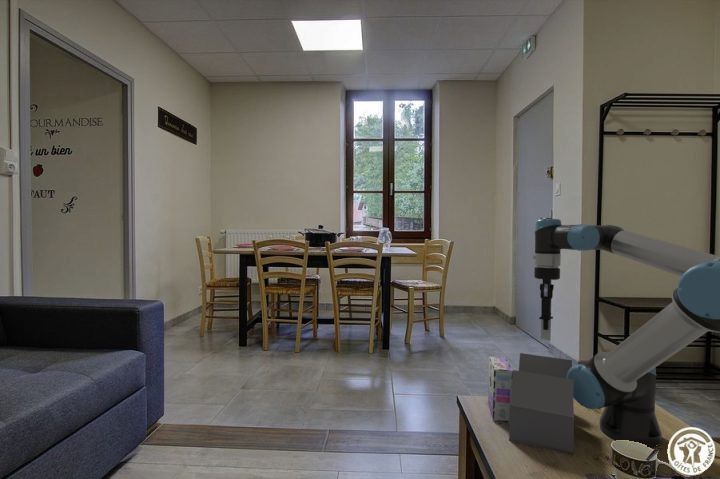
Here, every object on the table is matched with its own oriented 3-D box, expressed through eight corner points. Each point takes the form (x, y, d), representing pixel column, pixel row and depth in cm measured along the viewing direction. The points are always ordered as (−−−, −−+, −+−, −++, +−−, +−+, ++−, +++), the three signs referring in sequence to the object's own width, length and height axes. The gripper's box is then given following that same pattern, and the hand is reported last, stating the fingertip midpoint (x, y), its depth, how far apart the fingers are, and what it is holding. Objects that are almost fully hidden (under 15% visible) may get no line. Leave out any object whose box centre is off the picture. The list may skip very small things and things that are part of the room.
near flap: (573, 380, 109) (573, 379, 109) (573, 418, 105) (573, 417, 105) (513, 370, 117) (512, 369, 116) (510, 405, 112) (510, 405, 112)
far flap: (571, 391, 123) (571, 391, 124) (572, 360, 128) (572, 360, 128) (517, 382, 130) (517, 382, 131) (520, 353, 135) (520, 353, 135)
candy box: (512, 423, 123) (513, 370, 122) (492, 421, 124) (493, 369, 124) (505, 404, 136) (506, 356, 136) (487, 402, 137) (488, 355, 137)
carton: (571, 423, 123) (572, 391, 123) (573, 455, 105) (574, 418, 105) (516, 412, 131) (517, 381, 130) (509, 440, 113) (509, 405, 113)
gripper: (536, 264, 136) (534, 333, 137) (532, 267, 125) (531, 342, 125) (560, 265, 133) (559, 336, 133) (559, 268, 121) (557, 345, 122)
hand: (545, 339), depth 129 cm, fingers closed
